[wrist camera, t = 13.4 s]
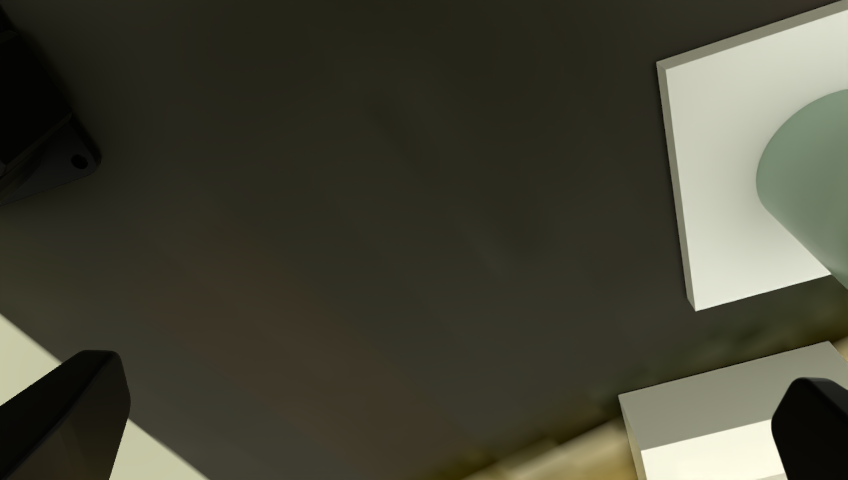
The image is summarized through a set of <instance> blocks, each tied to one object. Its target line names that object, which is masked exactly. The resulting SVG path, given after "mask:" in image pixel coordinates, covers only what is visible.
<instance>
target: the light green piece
mask: <svg viewBox="0 0 848 480" xmlns="http://www.w3.org/2000/svg"><path fill="white" fill-rule="evenodd" d="M756 188H757V193H758V196H759V199H760V201H761V203H762V204H763V206H764V208H765V209H766V210H767V211H768V212H769V213H770V214H771V215H772V216H773V217H774V218H775V219H776V220H777V221H778V222H779V223H780V224H781V225H782V226H783V227H784V228H785V229H786V230H787V231H788V232H790V233H791V234H792V235H793V236H794V237H795V238H796V239H797V240H798V241H799V242H800V243H801V244H802V245H803V246H804V247H805V248H806V249H807V250H808V251H809V252H810V253H811V254H812V255H813V256H814V257H815V258H816V259H817V260H818V261H819V262H820V263H821V264H822V265H823V266H824V267H825V268H826V269H827V270H828V271H829V272H830V273H831V274H832V275H833V276H834V277H835V278H836V279H837V280H838V281H839V282H840V283H841V284H843V285H844V286H845V287H846V288H847V289H848V89H846V90H841V91H838V92H835V93H831V94H829V95H826V96H824V97H822V98H819V99H817V100H816V101H814V102H812V103H810V104H808V105H807V106H805V107H804V108H802V109H801V110H799V111H798V112H797V113H796V114H794V115H793V116H792V117H791V118H789V119H788V120H787V121H786V122H785V123H784V124H783V125H782V126H781V127H780V129H779V130H778V131H777V132H776V133H775V134H774V136H773V137H772V139H771V140H770V142H769V143H768V145H767V146H766V148H765V150H764V152H763V154H762V157H761V159H760V162H759V165H758V169H757V176H756Z"/></svg>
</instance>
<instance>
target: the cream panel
mask: <svg viewBox="0 0 848 480" xmlns="http://www.w3.org/2000/svg"><path fill="white" fill-rule="evenodd" d="M656 64H657V72H658V80H659V87H660V95H661V102H662V110H663V117H664V125H665V133H666V140H667V148H668V155H669V163H670V170H671V178H672V186H673V193H674V201H675V208H676V216H677V223H678V231H679V238H680V246H681V254H682V261H683V269H684V276H685V284H686V291H687V298H688V300H689V302H690V303H691V305H692V306H693V308H694V309H695V311H698V310H702V309H705V308H709V307H713V306H716V305H720V304H724V303H727V302H731V301H735V300H738V299H742V298H746V297H749V296H753V295H757V294H760V293H764V292H768V291H772V290H775V289H779V288H783V287H786V286H790V285H794V284H797V283H801V282H805V281H808V280H812V279H816V278H819V277H823V276H827V275H830V274H831V273H830V272H829V271H828V270H827V269H826V268H825V267H824V266H823V265H822V264H821V263H820V262H819V261H818V260H817V259H816V258H815V257H814V256H813V255H812V254H811V253H810V252H809V251H808V250H807V249H806V248H805V247H804V246H803V245H802V244H801V243H800V242H799V241H798V240H797V239H796V238H795V237H794V236H793V235H792V234H791V233H790V232H788V231H787V230H786V229H785V228H784V227H783V226H782V225H781V224H780V223H779V222H778V221H777V220H776V219H775V218H774V217H773V216H772V215H771V214H770V213H769V212H768V211H767V210H766V209H765V208H764V206H763V204H762V203H761V201H760V199H759V196H758V193H757V188H756V176H757V169H758V165H759V162H760V159H761V157H762V154H763V152H764V150H765V148H766V146H767V145H768V143H769V142H770V140H771V139H772V137H773V136H774V134H775V133H776V132H777V131H778V130H779V129H780V127H781V126H782V125H783V124H784V123H785V122H786V121H787V120H788V119H789V118H791V117H792V116H793V115H794V114H796V113H797V112H798V111H799V110H801V109H802V108H804V107H805V106H807V105H808V104H810V103H812V102H814V101H816V100H817V99H819V98H822V97H824V96H826V95H829V94H831V93H835V92H838V91H841V90H846V89H848V0H841V1H838V2H835V3H832V4H829V5H826V6H823V7H820V8H817V9H814V10H811V11H808V12H805V13H802V14H799V15H796V16H793V17H790V18H787V19H784V20H781V21H778V22H775V23H772V24H769V25H766V26H763V27H760V28H757V29H754V30H751V31H748V32H745V33H742V34H739V35H736V36H733V37H730V38H727V39H724V40H721V41H718V42H715V43H712V44H709V45H706V46H703V47H700V48H697V49H694V50H691V51H688V52H685V53H682V54H679V55H676V56H673V57H670V58H667V59H664V60H661V61H658V62H656Z"/></svg>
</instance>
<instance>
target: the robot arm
mask: <svg viewBox="0 0 848 480" xmlns="http://www.w3.org/2000/svg"><path fill="white" fill-rule="evenodd" d="M76 155H81V156H83V157H85V158H86V159H87V162H88V164H85V163H82V162H81V161H80V160H78V158H77V156H76ZM100 163H101V157H100V155H99V152H98V151H97V149H96V148H95V146H94V145H93V144H92V142H91V141H90V139H89V138H88V136H87V135H86V133H85V132H84V131H83V129H82V128H81V126H80V125H79V123H78V122H77V120H76V119H75V118H74V116H73V115H72V109H71V107H70V106H69V104H68V103H67V101H66V100H65V99H64V97H63V96H62V94H61V93H60V91H59V90H58V88H57V87H56V86H55V84H54V83H53V81H52V80H51V78H50V77H49V75H48V74H47V73H46V71H45V70H44V68H43V67H42V65H41V64H40V62H39V61H38V59H37V58H36V57H35V55H34V54H33V52H32V51H31V49H30V48H29V46H28V45H27V44H26V42H25V41H24V39H23V38H22V37H21V36H20V35H19V34H17V33H16V32H15V31H14V30H13V28H12V27H11V25H10V24H9V22H8V21H7V19H6V18H5V17H4V15H3V14H2V12H1V11H0V206H3V205H6V204H8V203H11V202H14V201H17V200H20V199H23V198H25V197H28V196H31V195H34V194H37V193H40V192H42V191H45V190H48V189H51V188H54V187H57V186H59V185H62V184H65V183H68V182H71V181H74V180H76V179H79V178H82V177H85V176H88V175H90V174H91V173H93V172H94V171H95V170H96V169H97V168H98V167H99V165H100ZM130 403H131V400H130V393H129V389H128V385H127V381H126V377H125V373H124V369H123V365H122V361H121V358H120V356H119V355H118V353H116V352H114V351H106V350H83V351H81V352H79V353H77V354H75V355H74V356H72V357H71V358H70V359H68V360H67V361H65V362H64V363H62V364H61V365H59V366H58V367H56V368H55V369H54V370H52V371H51V372H49V373H48V374H46V375H45V376H44V377H42V378H41V379H39V380H38V381H36V382H35V383H33V384H32V385H30V386H29V387H27V388H26V389H25V390H23V391H22V392H20V393H19V394H17V395H16V396H14V397H13V398H11V399H10V400H9V401H7V402H6V403H4V404H3V405H1V406H0V480H109V478H110V475H111V472H112V468H113V465H114V462H115V459H116V455H117V452H118V449H119V445H120V442H121V438H122V436H123V432H124V429H125V426H126V422H127V419H128V416H129V411H130ZM771 432H772V436H773V439H774V442H775V445H776V448H777V451H778V454H779V457H780V459H781V462H782V465H783V468H784V471H785V474H786V477H787V479H788V480H848V390H847V389H845V388H844V387H842V386H841V385H839V384H837V383H836V382H834V381H832V380H830V379H827V378H817V377H799V378H796V379H795V380H793V381H792V382H791V384H790V385H789V387H788V389H787V391H786V393H785V394H784V396H783V398H782V400H781V401H780V403H779V405H778V407H777V409H776V410H775V412H774V414H773V416H772V420H771Z"/></svg>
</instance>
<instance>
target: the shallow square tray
mask: <svg viewBox="0 0 848 480" xmlns="http://www.w3.org/2000/svg"><path fill="white" fill-rule="evenodd" d="M799 377H817V378H827V379H830V380H832V381H834V382H836V383H837V384H839V385H841V386H842V387H844V388H845V389H847V390H848V363H847V361H846V360H845V359H844V358H843V357H842V356H841V355H840V353H839V352H838V351H837V350H836V349H835V348H834V347H833V345H832V344H831V343H830V342H829V341H826V342H822V343H818V344H814V345H811V346H807V347H803V348H799V349H795V350H791V351H787V352H783V353H780V354H776V355H772V356H768V357H764V358H760V359H756V360H752V361H748V362H745V363H741V364H737V365H733V366H729V367H725V368H721V369H717V370H713V371H710V372H706V373H702V374H698V375H694V376H690V377H686V378H682V379H679V380H675V381H671V382H667V383H663V384H659V385H655V386H651V387H647V388H644V389H640V390H636V391H632V392H628V393H624V394H620V395H618V397H619V401H620V405H621V410H622V414H623V418H624V422H625V426H626V431H627V435H628V439H629V443H630V447H631V452H632V456H633V460H634V464H635V468H636V473H637V477H638V480H788V479H787V477H786V474H785V471H784V468H783V465H782V462H781V459H780V457H779V454H778V451H777V448H776V445H775V442H774V439H773V436H772V432H771V420H772V416H773V414H774V412H775V410H776V409H777V407H778V405H779V403H780V401H781V400H782V398H783V396H784V394H785V393H786V391H787V389H788V387H789V385H790V384H791V382H792V381H793V380H795V379H796V378H799Z"/></svg>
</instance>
